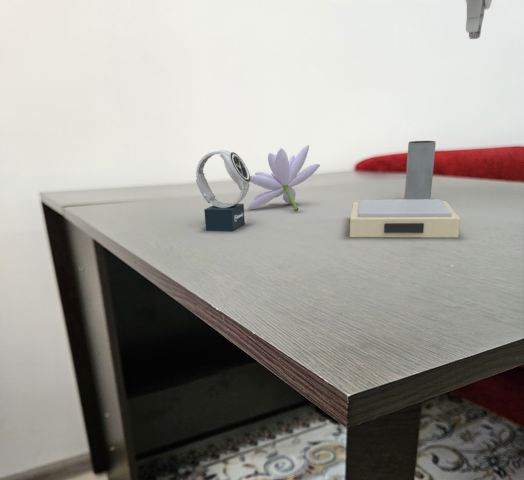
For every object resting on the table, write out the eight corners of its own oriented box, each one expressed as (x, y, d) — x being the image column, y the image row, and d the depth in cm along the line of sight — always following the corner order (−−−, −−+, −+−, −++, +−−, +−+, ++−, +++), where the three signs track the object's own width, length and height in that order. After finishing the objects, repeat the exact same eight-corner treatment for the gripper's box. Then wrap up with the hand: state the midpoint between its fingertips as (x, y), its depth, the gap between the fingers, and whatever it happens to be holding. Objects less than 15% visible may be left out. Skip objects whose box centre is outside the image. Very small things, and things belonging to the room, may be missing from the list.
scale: (444, 218, 80) (446, 198, 79) (458, 238, 68) (461, 214, 66) (352, 218, 83) (353, 198, 82) (349, 237, 70) (350, 215, 69)
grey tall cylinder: (429, 204, 92) (434, 142, 88) (402, 204, 93) (407, 142, 89) (431, 200, 96) (436, 140, 91) (405, 200, 97) (409, 141, 93)
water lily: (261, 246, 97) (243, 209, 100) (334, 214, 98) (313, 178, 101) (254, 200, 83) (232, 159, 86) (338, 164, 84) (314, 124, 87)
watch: (245, 231, 77) (241, 151, 72) (195, 230, 79) (188, 153, 75) (256, 224, 82) (253, 149, 77) (209, 223, 84) (203, 150, 79)
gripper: (508, -97, 69) (493, 25, 75) (506, -57, 86) (494, 40, 92) (458, -88, 71) (447, 29, 77) (466, -51, 88) (456, 43, 94)
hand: (473, 35), depth 85 cm, fingers open, 8 cm apart
